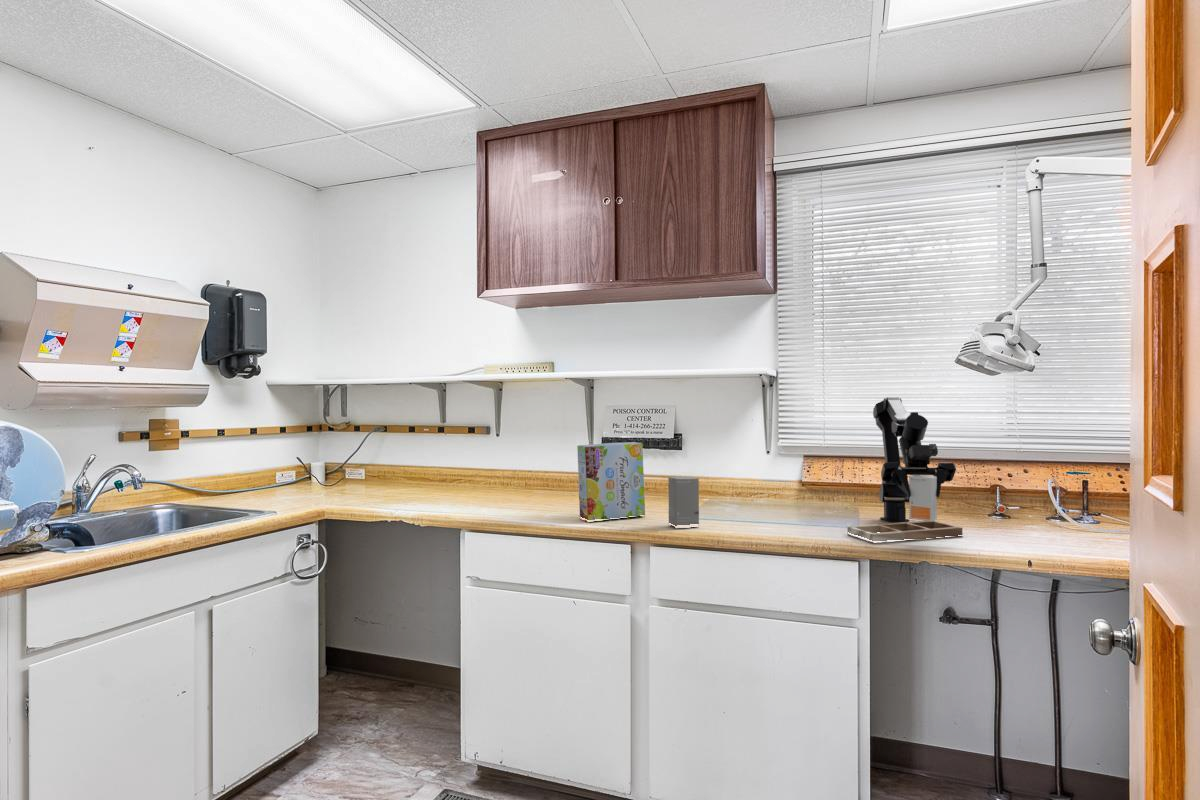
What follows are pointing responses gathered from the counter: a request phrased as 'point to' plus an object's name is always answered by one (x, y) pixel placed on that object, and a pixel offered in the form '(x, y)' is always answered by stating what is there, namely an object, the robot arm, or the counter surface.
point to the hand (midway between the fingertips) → (924, 496)
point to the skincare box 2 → (923, 498)
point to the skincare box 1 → (683, 500)
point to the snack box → (611, 480)
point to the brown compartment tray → (905, 530)
